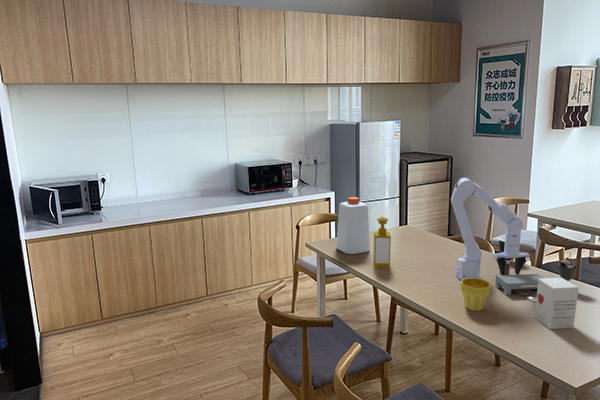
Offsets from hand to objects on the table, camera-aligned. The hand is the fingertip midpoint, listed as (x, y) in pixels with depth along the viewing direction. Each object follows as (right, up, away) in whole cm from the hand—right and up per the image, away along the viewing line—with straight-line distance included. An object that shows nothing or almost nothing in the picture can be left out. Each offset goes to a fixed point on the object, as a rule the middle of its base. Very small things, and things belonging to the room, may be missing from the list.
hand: (509, 274), depth 194 cm
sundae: (+19, -5, -9) cm, 21 cm away
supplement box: (-2, -11, -37) cm, 39 cm away
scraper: (0, -4, -5) cm, 6 cm away
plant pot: (-25, -9, -25) cm, 36 cm away
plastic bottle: (-62, +5, +44) cm, 77 cm away
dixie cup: (+10, +2, +25) cm, 27 cm away
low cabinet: (+1, -5, -10) cm, 11 cm away
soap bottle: (-51, +1, +23) cm, 56 cm away
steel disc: (+1, -7, -18) cm, 19 cm away
